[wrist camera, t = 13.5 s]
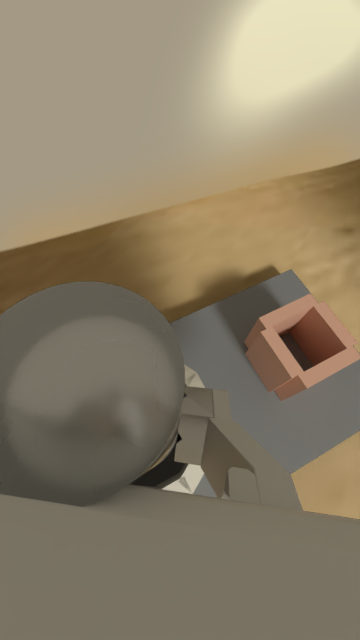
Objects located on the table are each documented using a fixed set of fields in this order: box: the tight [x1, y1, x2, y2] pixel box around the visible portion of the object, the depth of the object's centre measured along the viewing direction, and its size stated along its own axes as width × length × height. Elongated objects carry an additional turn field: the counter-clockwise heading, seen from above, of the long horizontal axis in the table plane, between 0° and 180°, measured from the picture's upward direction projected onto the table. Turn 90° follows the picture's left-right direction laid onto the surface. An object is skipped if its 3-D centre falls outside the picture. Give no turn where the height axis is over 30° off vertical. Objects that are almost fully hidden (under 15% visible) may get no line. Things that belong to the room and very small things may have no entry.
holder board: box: [130, 269, 360, 498], centre depth 17 cm, size 21×12×6 cm, turn 116°
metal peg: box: [0, 282, 185, 507], centre depth 10 cm, size 4×4×12 cm
